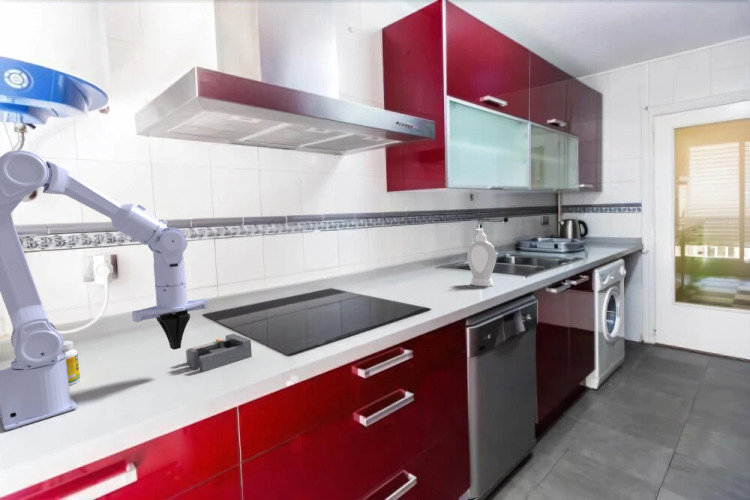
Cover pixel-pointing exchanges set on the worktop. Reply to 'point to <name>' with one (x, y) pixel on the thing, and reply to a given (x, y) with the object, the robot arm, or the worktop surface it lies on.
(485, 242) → the soap bottle
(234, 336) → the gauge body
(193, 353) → the grey hook
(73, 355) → the supplement bottle
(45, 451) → the worktop surface
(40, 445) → the worktop surface
